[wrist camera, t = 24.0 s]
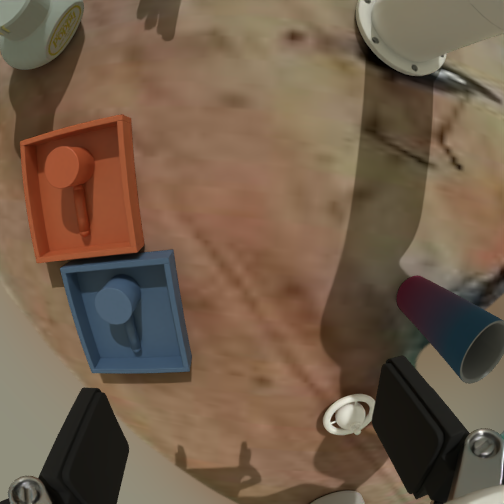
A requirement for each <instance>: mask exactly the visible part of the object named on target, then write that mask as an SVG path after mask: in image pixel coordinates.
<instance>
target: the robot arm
mask: <svg viewBox="0 0 504 504" xmlns="http://www.w3.org/2000/svg"><path fill="white" fill-rule="evenodd" d="M356 20H357V25H358V28H359V30H360V33H361V35H362V37H363V39H364V40H365V42H366V44H367V45H368V46H369V48H370V49H371V50H372V51H373V53H374V54H375V55H376V56H377V57H378V58H379V59H381V60H382V61H383V62H384V63H386V64H387V65H388V66H390V67H391V68H393V69H395V70H396V71H399V72H401V73H404V74H407V75H411V76H424V75H428V74H431V73H433V72H435V71H437V70H438V69H439V68H440V67H441V66H442V65H443V63H444V61H445V59H446V55H447V53H449V52H452V51H455V50H457V49H460V48H463V47H466V46H468V45H471V44H474V43H477V42H480V41H483V40H486V39H489V38H492V37H495V36H498V35H501V34H504V0H359V1H358V3H357V6H356ZM372 425H373V427H374V429H375V431H376V433H377V435H378V437H379V439H380V441H381V442H382V444H383V446H384V448H385V450H386V452H387V454H388V456H389V457H390V459H391V461H392V463H393V465H394V467H395V469H396V471H397V473H398V475H399V476H400V478H401V480H402V482H403V484H404V486H405V488H406V490H407V492H408V493H409V494H412V493H413V494H414V496H415V498H416V499H418V498H421V497H423V496H425V495H427V494H428V495H429V497H430V499H431V503H430V504H504V440H503V439H502V437H501V436H500V435H499V434H498V433H497V432H495V431H494V430H491V429H486V428H481V429H477V430H474V431H473V432H471V433H469V432H468V431H467V429H466V428H465V427H464V426H463V425H462V423H461V422H460V421H459V419H458V418H457V417H456V416H455V415H454V413H453V412H452V411H451V410H450V408H449V407H448V406H447V405H446V404H445V403H444V401H443V400H442V399H441V398H440V397H439V395H438V394H437V393H436V392H435V390H434V389H433V388H432V387H431V386H429V384H428V383H427V382H426V381H425V379H424V378H423V377H422V376H421V375H420V374H419V372H418V371H417V370H416V369H415V368H414V367H413V365H412V364H411V363H410V362H409V361H408V360H407V358H406V357H404V356H399V357H395V358H391V359H388V360H387V361H386V364H384V365H383V366H382V369H381V375H380V380H379V386H378V391H377V396H376V401H375V406H374V410H373V415H372ZM128 453H129V445H128V442H127V440H126V438H125V436H124V435H123V432H122V430H121V428H120V426H119V424H118V422H117V419H116V417H115V415H114V413H113V410H112V408H111V406H110V404H109V401H108V399H107V396H106V394H105V393H102V392H101V390H100V389H98V388H82V389H81V391H80V393H79V395H78V397H77V399H76V401H75V403H74V404H73V406H72V408H71V410H70V412H69V414H68V416H67V418H66V420H65V422H64V424H63V426H62V428H61V430H60V432H59V434H58V436H57V438H56V441H55V443H54V445H53V447H52V449H51V451H50V453H49V456H48V457H47V460H46V462H45V464H44V466H43V469H42V471H41V473H40V475H39V478H36V477H33V476H22V477H20V478H18V479H16V480H15V481H14V482H13V483H12V484H11V486H10V487H9V491H8V497H9V498H8V499H6V500H3V501H1V502H0V504H117V500H118V495H119V491H120V486H121V482H122V478H123V474H124V470H125V465H126V461H127V457H128Z"/></svg>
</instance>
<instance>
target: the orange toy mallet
mask: <svg viewBox="0 0 504 504" xmlns="http://www.w3.org/2000/svg"><path fill="white" fill-rule="evenodd" d="M94 167H95V163H94V158H93V156H92V154H91V153H90V152H89V151H88V150H87V149H85V148H81V147H68V146H61V147H57V148H55V149H54V150H53V151H52V152H51V153H50V154H49V155H48V157H47V159H46V162H45V176H46V178H47V180H48V182H49V183H50V184H51V185H52V186H53V187H55V188H59V189H63V188H68V187H73V186H74V187H73V195H74V202H75V209H76V216H77V222H78V228H79V233H80V235H81V236H83V237H86V236H88V235H89V233H90V228H89V222H88V216H87V209H86V202H85V194H84V187H83V185H82V184H84V183H86V182H87V181H88V180H89V179H90V178H91V176H92V174H93V172H94Z"/></svg>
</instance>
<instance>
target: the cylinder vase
mask: <svg viewBox="0 0 504 504" xmlns="http://www.w3.org/2000/svg"><path fill="white" fill-rule="evenodd" d="M310 504H365V503H364V501H363V498H362V496H361V494H360V493H358V492H356V491H339V492H335V493H331V494H328V495H325V496H323V497H321V498H318V499H317V500H315V501H313V502H312V503H310Z"/></svg>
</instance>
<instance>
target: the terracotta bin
mask: <svg viewBox="0 0 504 504" xmlns="http://www.w3.org/2000/svg"><path fill="white" fill-rule="evenodd" d="M20 146H21V147H20V149H21V164H22V175H23V185H24V193H25V201H26V208H27V214H28V221H29V226H30V232H31V237H32V242H33V247H34V252H35V257H36V261H37V263H44V262H53V261H62V260H71V259H80V258H89V257H99V256H108V255H117V254H127V253H137V252H138V251H139V250H140V249H141V248H142V247H143V246H144V238H143V231H142V224H141V217H140V210H139V202H138V193H137V185H136V175H135V165H134V154H133V141H132V127H131V118H129V117H127V116H124V115H122V114H121V115H117V116H112V117H107V118H102V119H98V120H94V121H89V122H85V123H81V124H77V125H73V126H70V127H66V128H62V129H59V130H55V131H51V132H48V133H45V134H41V135H38V136H35V137H32V138H29V139H26V140H23V141H20ZM61 146H68V147H81V148H85V149H87V150H88V151H89V152H90V153H91V154H92V156H93V158H94V163H95V167H94V172H93V174H92V176H91V178H90V179H89V180H88V181H87V182H86V183H84V184H82V185H83V187H84V194H85V202H86V209H87V216H88V222H89V228H90V233H89V235H88V236H86V237H83V236H81V235H80V233H79V228H78V222H77V216H76V209H75V202H74V195H73V187H74V186H73V187H68V188H63V189H59V188H55V187H53V186H52V185H51V184H50V183H49V182H48V180H47V178H46V176H45V162H46V159H47V157H48V155H49V154H50V153H51V152H52V151H53V150H54V149H55V148H57V147H61Z"/></svg>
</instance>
